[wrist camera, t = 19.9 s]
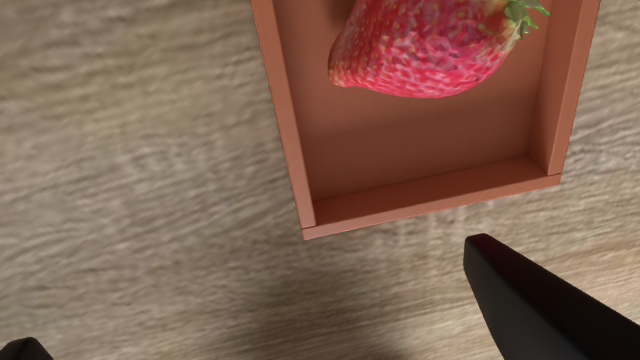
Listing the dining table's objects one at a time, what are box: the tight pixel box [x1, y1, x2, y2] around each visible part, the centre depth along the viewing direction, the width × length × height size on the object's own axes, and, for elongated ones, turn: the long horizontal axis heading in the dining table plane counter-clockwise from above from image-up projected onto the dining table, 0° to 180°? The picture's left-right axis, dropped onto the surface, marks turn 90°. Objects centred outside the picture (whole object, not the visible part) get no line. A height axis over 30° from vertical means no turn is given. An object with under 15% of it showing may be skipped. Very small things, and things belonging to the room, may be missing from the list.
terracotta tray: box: [250, 0, 601, 240], centre depth 14 cm, size 15×10×2 cm
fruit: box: [327, 0, 549, 98], centre depth 12 cm, size 4×6×5 cm
